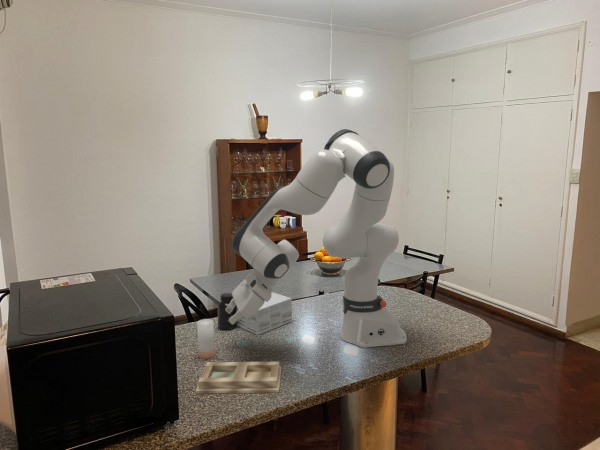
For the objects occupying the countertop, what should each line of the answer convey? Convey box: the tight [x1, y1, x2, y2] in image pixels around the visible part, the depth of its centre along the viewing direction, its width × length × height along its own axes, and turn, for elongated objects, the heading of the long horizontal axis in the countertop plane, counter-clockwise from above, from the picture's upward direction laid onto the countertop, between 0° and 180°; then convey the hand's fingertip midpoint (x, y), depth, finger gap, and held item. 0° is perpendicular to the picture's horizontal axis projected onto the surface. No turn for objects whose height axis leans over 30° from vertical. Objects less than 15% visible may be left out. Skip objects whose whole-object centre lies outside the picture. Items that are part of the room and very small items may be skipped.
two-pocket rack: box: [195, 361, 282, 394], centre depth 123 cm, size 22×13×3 cm, turn 89°
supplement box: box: [236, 291, 293, 336], centre depth 163 cm, size 17×13×9 cm
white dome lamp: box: [196, 318, 216, 360], centre depth 138 cm, size 5×5×11 cm
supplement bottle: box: [217, 292, 237, 330], centre depth 161 cm, size 7×7×12 cm
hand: (228, 317), depth 138 cm, fingers open, 8 cm apart
